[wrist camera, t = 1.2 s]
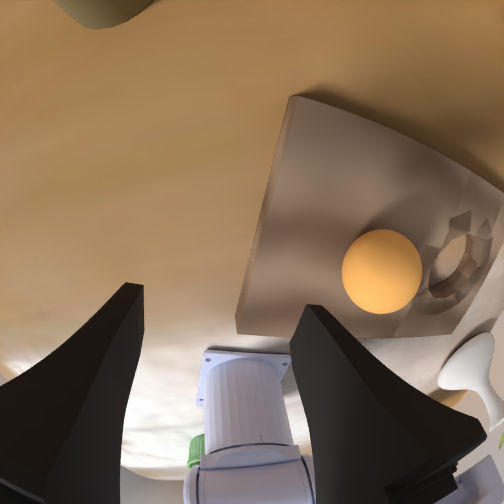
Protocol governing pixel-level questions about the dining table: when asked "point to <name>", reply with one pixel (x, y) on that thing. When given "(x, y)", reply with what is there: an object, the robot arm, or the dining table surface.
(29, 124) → the dining table surface
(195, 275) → the dining table surface
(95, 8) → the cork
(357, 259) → the ball
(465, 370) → the flower in vase
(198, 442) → the ramekin
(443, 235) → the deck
